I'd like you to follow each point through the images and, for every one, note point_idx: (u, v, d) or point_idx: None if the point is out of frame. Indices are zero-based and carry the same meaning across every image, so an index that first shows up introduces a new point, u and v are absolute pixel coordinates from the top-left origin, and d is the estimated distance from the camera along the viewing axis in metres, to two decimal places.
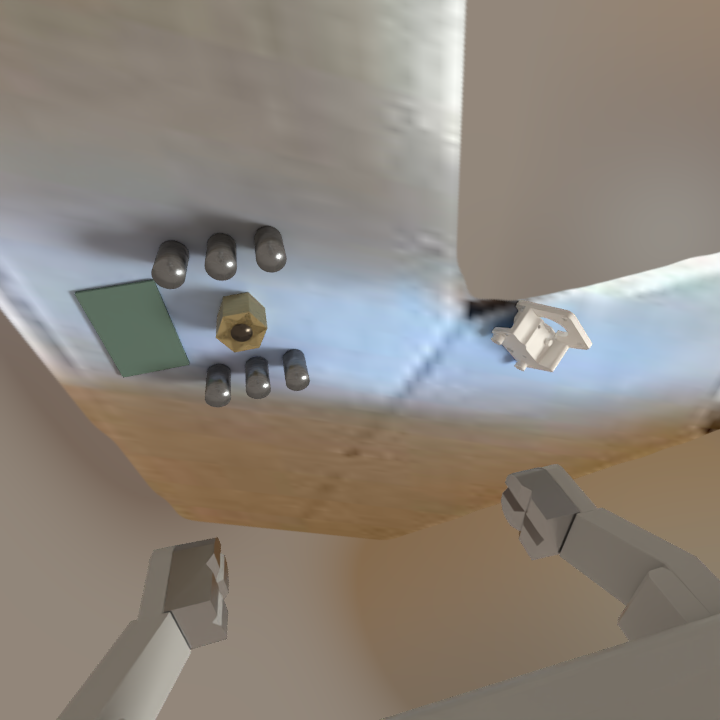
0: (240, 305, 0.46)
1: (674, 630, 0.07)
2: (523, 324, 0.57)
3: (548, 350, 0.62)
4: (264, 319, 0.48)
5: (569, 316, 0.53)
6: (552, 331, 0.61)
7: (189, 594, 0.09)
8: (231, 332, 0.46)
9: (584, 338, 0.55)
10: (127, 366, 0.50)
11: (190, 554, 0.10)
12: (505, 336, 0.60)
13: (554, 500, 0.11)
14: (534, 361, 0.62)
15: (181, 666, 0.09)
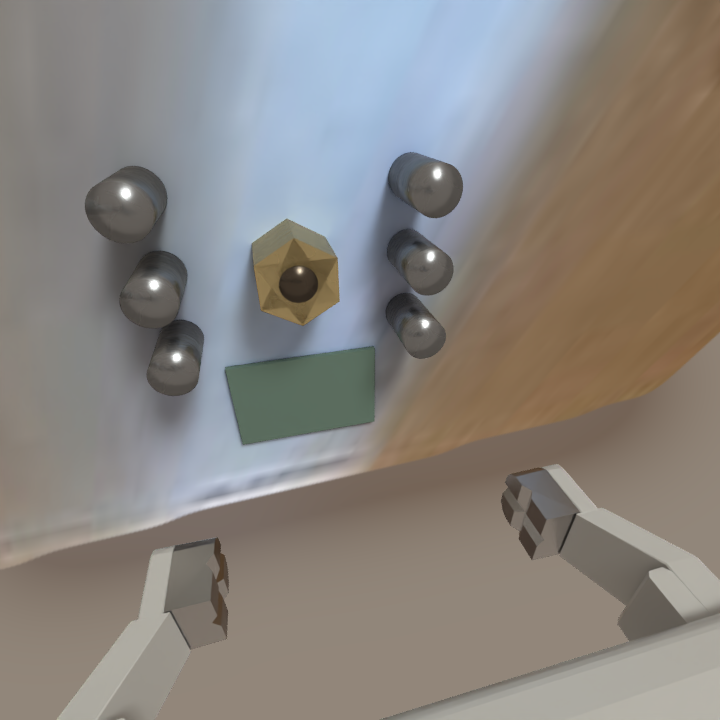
0: None
1: (674, 630, 0.07)
2: None
3: None
4: (286, 234, 0.25)
5: None
6: None
7: (189, 594, 0.09)
8: (295, 300, 0.26)
9: None
10: (359, 414, 0.38)
11: (190, 554, 0.10)
12: None
13: (554, 500, 0.11)
14: None
15: (181, 666, 0.09)
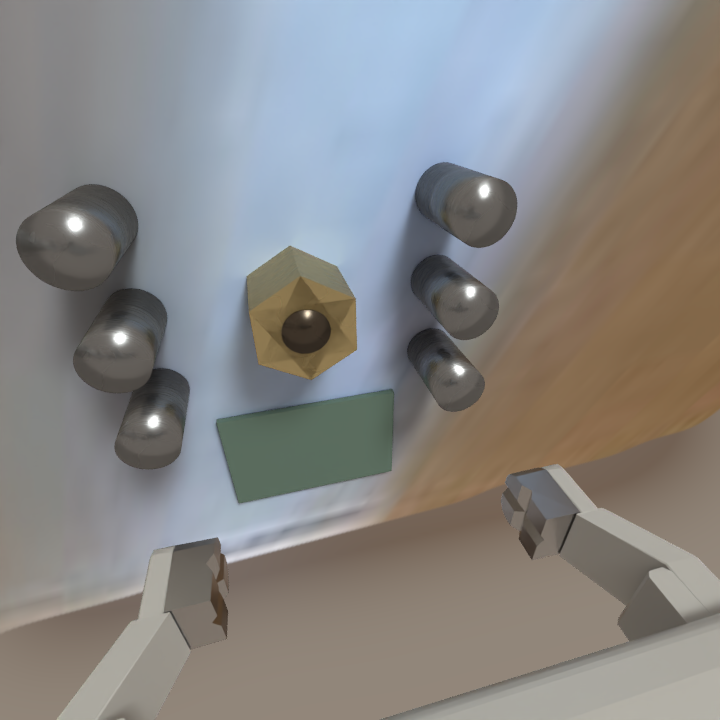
0: None
1: (674, 630, 0.07)
2: None
3: None
4: (290, 268, 0.20)
5: None
6: None
7: (189, 594, 0.09)
8: (302, 350, 0.21)
9: None
10: (373, 464, 0.32)
11: (190, 554, 0.10)
12: None
13: (554, 500, 0.11)
14: None
15: (181, 666, 0.09)
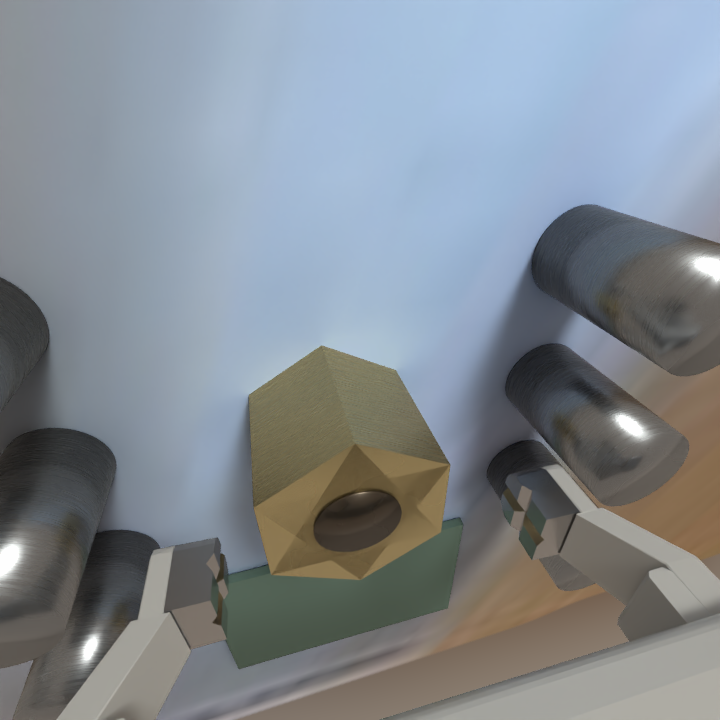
0: None
1: (674, 630, 0.07)
2: None
3: None
4: (330, 411, 0.11)
5: None
6: None
7: (189, 594, 0.09)
8: (349, 546, 0.12)
9: None
10: (425, 605, 0.23)
11: (190, 554, 0.10)
12: None
13: (554, 501, 0.11)
14: None
15: (181, 666, 0.09)
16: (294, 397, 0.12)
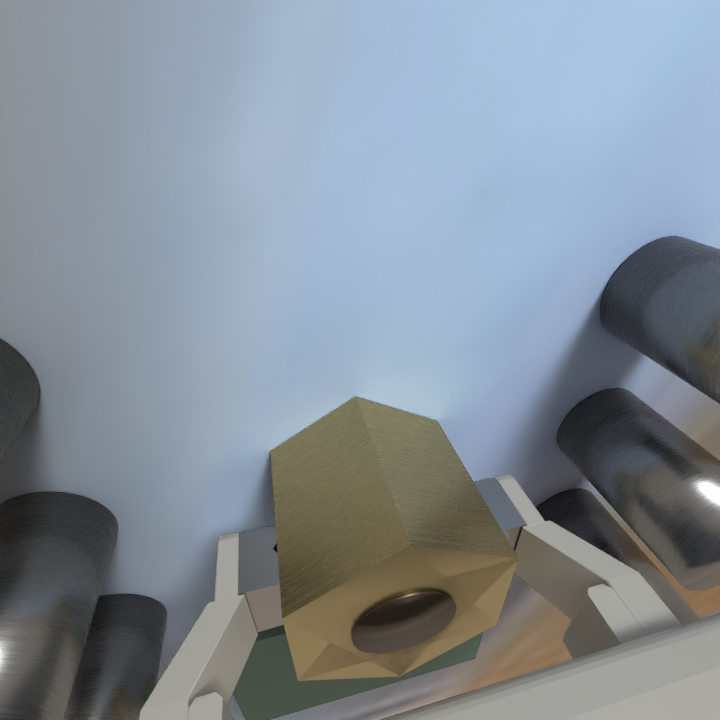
0: None
1: (674, 630, 0.07)
2: None
3: None
4: (374, 491, 0.09)
5: None
6: None
7: (260, 577, 0.09)
8: (391, 645, 0.10)
9: None
10: (452, 656, 0.21)
11: (256, 540, 0.10)
12: None
13: (502, 513, 0.10)
14: None
15: (250, 648, 0.09)
16: (326, 464, 0.10)
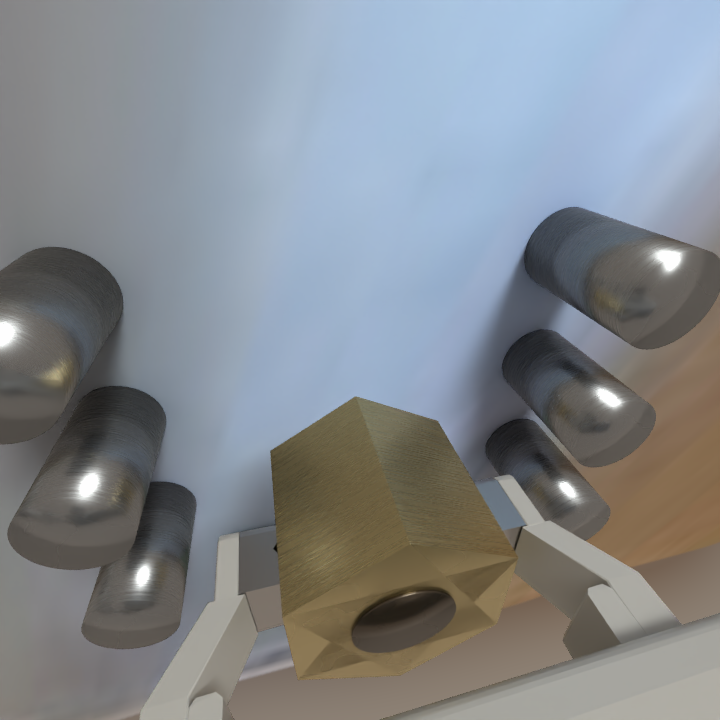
0: None
1: (674, 630, 0.07)
2: None
3: None
4: (374, 491, 0.09)
5: None
6: None
7: (261, 577, 0.09)
8: (391, 644, 0.10)
9: None
10: None
11: (256, 539, 0.10)
12: None
13: (501, 513, 0.10)
14: None
15: (250, 647, 0.09)
16: (326, 463, 0.10)
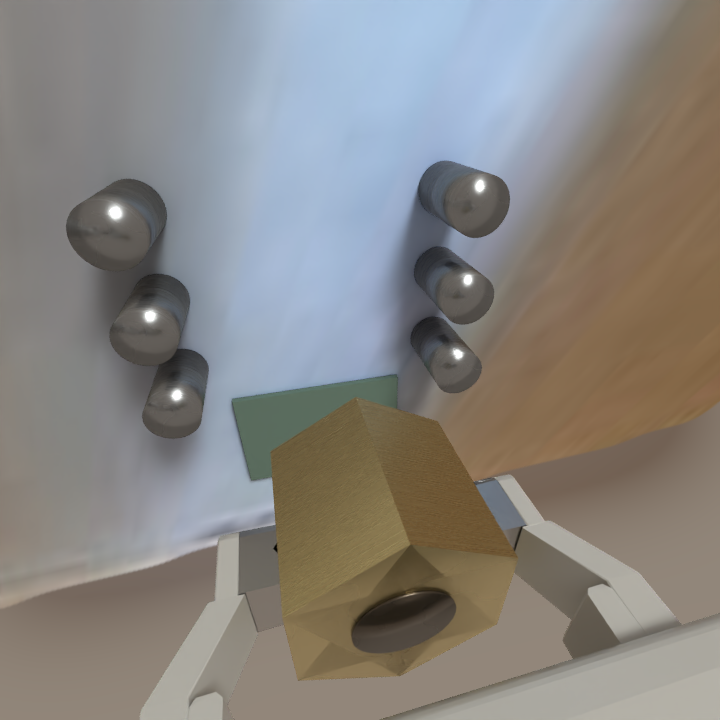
0: None
1: (674, 630, 0.07)
2: None
3: None
4: (374, 491, 0.09)
5: None
6: None
7: (261, 577, 0.09)
8: (391, 644, 0.10)
9: None
10: None
11: (256, 539, 0.10)
12: None
13: (501, 513, 0.10)
14: None
15: (250, 647, 0.09)
16: (326, 464, 0.10)
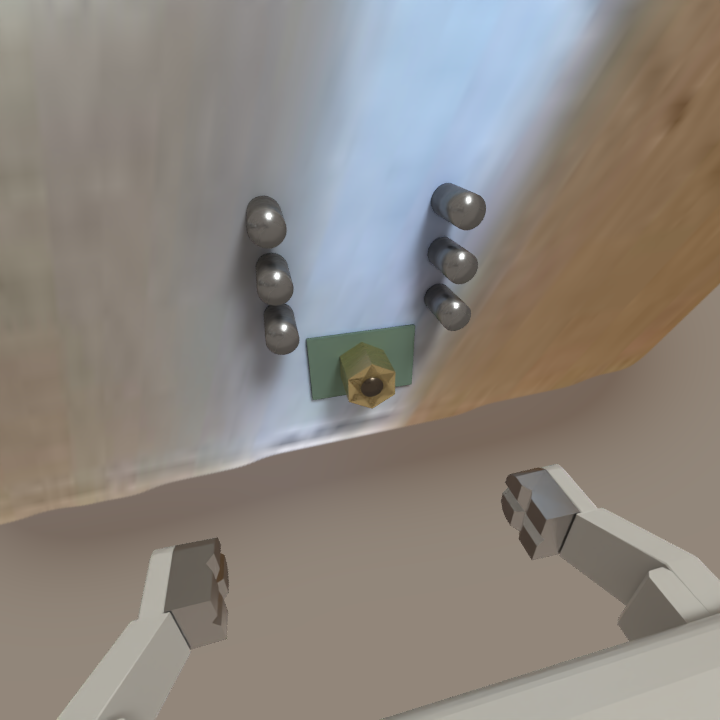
0: (345, 377, 0.43)
1: (674, 630, 0.07)
2: None
3: None
4: (365, 358, 0.42)
5: None
6: None
7: (189, 594, 0.09)
8: (369, 395, 0.43)
9: None
10: (400, 378, 0.49)
11: (190, 554, 0.10)
12: None
13: (554, 500, 0.11)
14: None
15: (181, 666, 0.09)
16: (354, 356, 0.44)
